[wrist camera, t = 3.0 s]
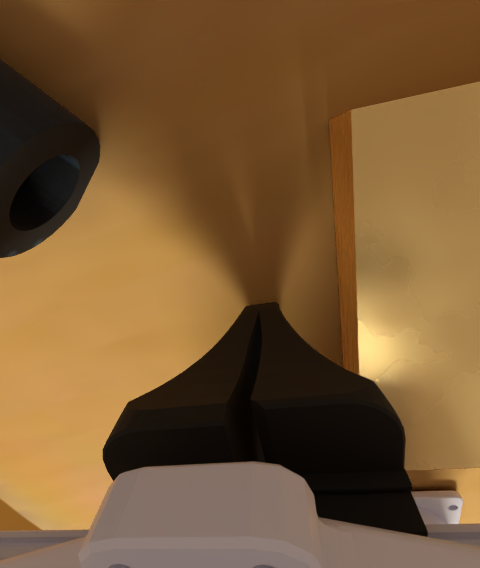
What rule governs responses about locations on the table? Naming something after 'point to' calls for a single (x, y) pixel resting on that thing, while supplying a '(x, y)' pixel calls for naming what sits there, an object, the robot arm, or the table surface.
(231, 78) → the table surface
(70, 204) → the pipe connector
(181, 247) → the table surface
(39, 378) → the table surface
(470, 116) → the tan flat block
